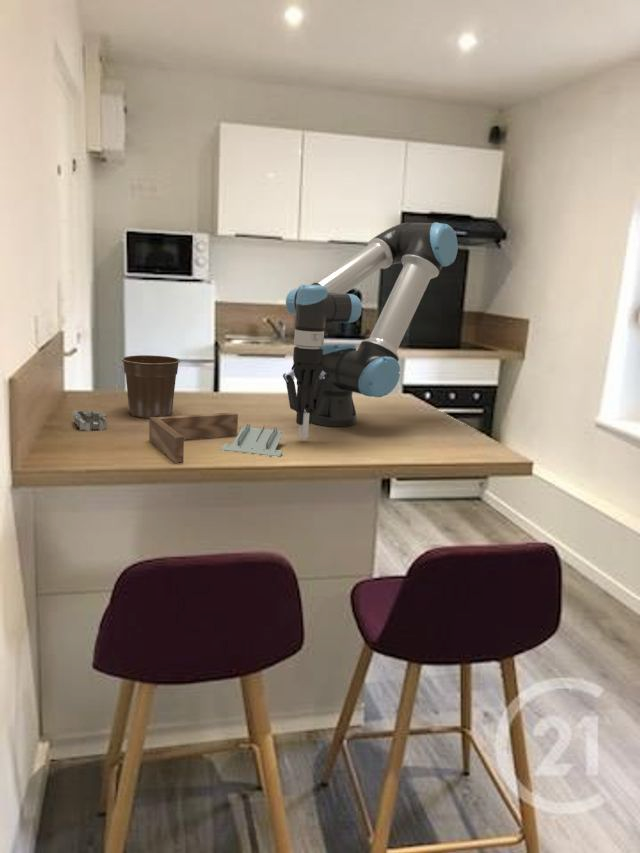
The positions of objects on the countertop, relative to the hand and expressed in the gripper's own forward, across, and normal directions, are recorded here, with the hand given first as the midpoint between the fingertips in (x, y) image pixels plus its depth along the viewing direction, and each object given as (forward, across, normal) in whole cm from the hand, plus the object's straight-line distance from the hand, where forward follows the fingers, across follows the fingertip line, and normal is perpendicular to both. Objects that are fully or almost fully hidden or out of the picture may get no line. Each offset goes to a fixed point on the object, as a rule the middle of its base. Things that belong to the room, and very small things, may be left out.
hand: (302, 436), depth 181 cm
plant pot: (+2, -28, +40) cm, 49 cm away
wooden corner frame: (+2, -26, +2) cm, 26 cm away
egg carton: (+2, -47, +31) cm, 57 cm away
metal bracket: (+2, -14, -1) cm, 14 cm away
